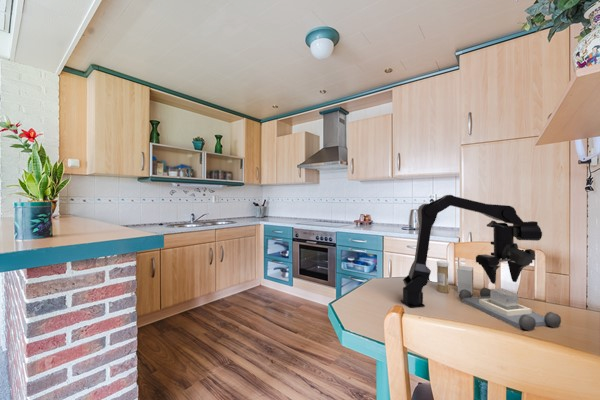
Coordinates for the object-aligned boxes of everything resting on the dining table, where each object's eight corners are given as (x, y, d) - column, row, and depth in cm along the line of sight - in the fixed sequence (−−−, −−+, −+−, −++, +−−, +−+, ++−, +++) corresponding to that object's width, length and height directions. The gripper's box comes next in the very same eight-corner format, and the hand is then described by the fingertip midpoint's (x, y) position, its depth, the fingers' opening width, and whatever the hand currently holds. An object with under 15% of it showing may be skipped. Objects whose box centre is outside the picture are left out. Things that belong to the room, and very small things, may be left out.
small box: (472, 295, 109) (472, 271, 109) (457, 292, 112) (457, 268, 112) (473, 290, 115) (473, 267, 115) (459, 287, 118) (459, 265, 119)
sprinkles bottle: (451, 292, 112) (450, 262, 112) (442, 293, 111) (442, 262, 111) (443, 289, 116) (442, 260, 116) (434, 290, 115) (434, 260, 116)
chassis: (524, 331, 78) (524, 317, 78) (459, 300, 103) (458, 289, 103) (561, 327, 81) (560, 313, 81) (488, 297, 106) (488, 287, 106)
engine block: (506, 312, 89) (506, 295, 89) (490, 305, 95) (490, 289, 95) (518, 311, 90) (518, 294, 90) (501, 304, 96) (501, 288, 96)
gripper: (503, 244, 83) (504, 292, 83) (549, 242, 86) (550, 288, 86) (474, 239, 94) (474, 281, 94) (515, 237, 97) (516, 278, 97)
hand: (504, 282), depth 92 cm, fingers open, 9 cm apart
